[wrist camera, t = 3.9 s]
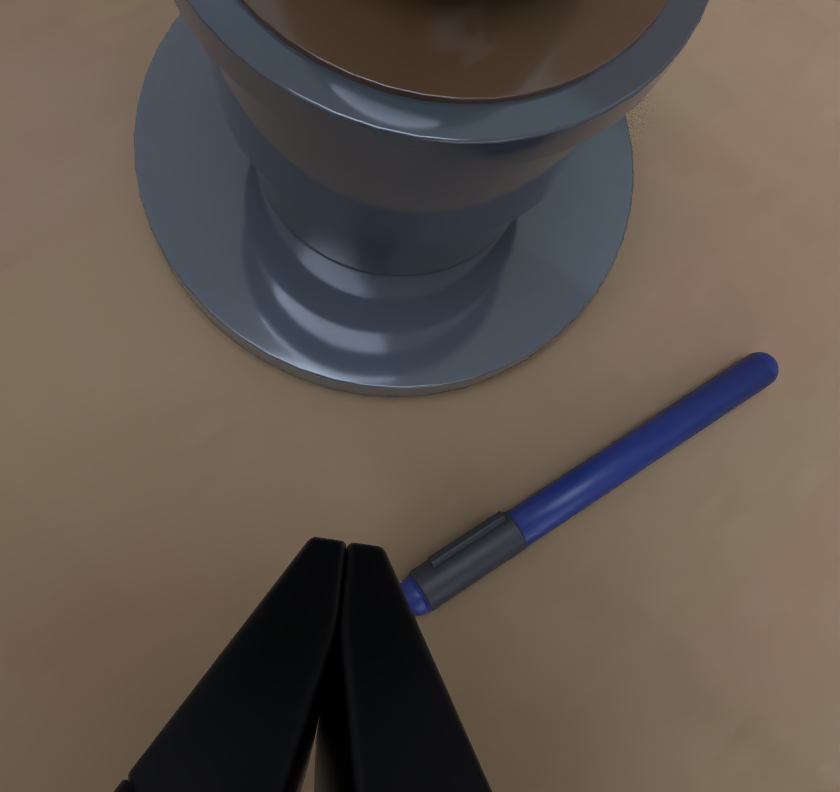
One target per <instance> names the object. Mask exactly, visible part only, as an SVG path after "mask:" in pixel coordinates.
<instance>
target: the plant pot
mask: <svg viewBox="0 0 840 792" xmlns="http://www.w3.org/2000/svg"><path fill="white" fill-rule="evenodd" d="M708 1H709V0H174V2H175V4H176V6H177V7H178V9H179V11H180V13H181V14H180V15H179V16H178V18H177V19H176V20H175V21H174V23H173V24H172V26H171V27H170V29H169V31H168V32H167V34H166V35H165V37H164V38H163V40H162V42H161V43H160V45H159V46H158V49H157V51H156V53H155V55H154V58H153V60H152V62H151V64H150V67H149V69H148V71H147V73H146V76H145V80H144V83H143V87H142V91H141V94H140V98H139V102H138V107H137V115H136V123H135V132H134V148H135V169H136V174H137V180H138V185H139V191H140V197H141V200H142V203H143V206H144V209H145V212H146V215H147V218H148V221H149V224H150V227H151V230H152V232H153V234H154V236H155V238H156V240H157V242H158V244H159V246H160V248H161V250H162V252H163V254H164V256H165V258H166V259H167V261H168V263H169V265H170V267H171V269H172V271H173V273H174V274H175V276H176V277H177V279H178V280H179V281H180V283H181V284H182V286H183V287H184V289H185V290H186V292H187V293H188V294H189V296H190V297H191V299H192V300H193V301H194V302H195V303H196V304H197V306H198V307H199V308H200V309H201V310H202V311H203V312H204V313H205V314H206V315H207V317H208V318H209V319H210V320H211V321H212V322H213V323H214V324H215V325H216V326H217V327H218V328H220V329H221V330H222V331H223V332H224V333H226V334H227V335H228V336H229V337H230V338H232V339H233V340H234V341H235V342H236V343H238V344H239V345H240V346H241V347H243V348H245V349H246V350H248V351H249V352H251V353H252V354H254V355H256V356H257V357H259V358H260V359H262V360H263V361H265V362H266V363H268V364H270V365H272V366H274V367H276V368H278V369H281V370H283V371H285V372H287V373H289V374H291V375H293V376H296V377H298V378H300V379H303V380H306V381H309V382H312V383H315V384H319V385H322V386H325V387H328V388H331V389H336V390H341V391H347V392H352V393H357V394H363V395H375V396H393V397H402V396H416V395H430V394H435V393H440V392H445V391H450V390H455V389H460V388H464V387H467V386H469V385H472V384H475V383H478V382H481V381H484V380H487V379H489V378H492V377H494V376H496V375H498V374H500V373H502V372H504V371H506V370H508V369H510V368H512V367H514V366H516V365H518V364H520V363H521V362H523V361H524V360H526V359H527V358H528V357H530V356H531V355H533V354H534V353H536V352H537V351H538V350H540V349H541V348H543V347H544V346H545V345H546V344H548V343H549V342H550V341H551V340H552V339H553V338H554V337H555V336H556V335H558V334H559V333H560V332H561V331H562V330H563V329H564V328H565V327H566V326H567V325H568V324H569V323H570V322H571V321H573V320H574V319H575V318H576V317H577V316H578V315H579V314H580V312H581V311H582V310H583V309H584V307H585V306H586V305H587V304H588V302H589V301H590V300H591V299H592V297H593V296H594V295H595V294H596V292H597V291H598V289H599V288H600V286H601V284H602V283H603V281H604V279H605V278H606V276H607V274H608V272H609V271H610V269H611V267H612V265H613V263H614V261H615V258H616V256H617V253H618V251H619V248H620V246H621V244H622V241H623V238H624V234H625V230H626V226H627V222H628V218H629V215H630V210H631V200H632V191H633V153H632V147H631V141H630V135H629V129H628V124H627V120H626V117H625V115H626V114H627V113H628V112H629V111H631V110H632V109H633V108H634V107H635V106H636V105H638V104H639V103H640V102H641V101H642V100H643V99H644V98H645V97H646V95H647V94H648V93H649V92H650V91H651V90H652V88H653V87H654V86H655V85H656V84H657V83H658V81H659V80H660V79H661V78H662V77H663V75H664V74H665V73H666V71H667V70H668V68H669V67H670V66H671V64H672V63H673V62H674V60H675V59H676V57H677V56H678V55H679V53H680V52H681V51H682V49H683V48H684V46H685V45H686V43H687V41H688V40H689V38H690V37H691V35H692V33H693V32H694V30H695V28H696V27H697V25H698V24H699V22H700V20H701V18H702V15H703V13H704V11H705V8H706V6H707V3H708Z"/></svg>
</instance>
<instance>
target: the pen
mask: <svg viewBox="0 0 840 792" xmlns="http://www.w3.org/2000/svg"><path fill="white" fill-rule="evenodd" d="M777 375H778V364H777V362H776V360H775V359H774V358H773V357H772V356H771V355H769V354H767V353H763V352H756V353H752V354H750V355H748V356H746V357H745V358H743V359H742V360H740V361H739V362H737V363H736V364H734V365H732V366H731V367H729V368H728V369H726V370H725V371H723V372H722V373H720V374H719V375H717V376H716V377H714V378H712V379H711V380H709V381H708V382H706V383H705V384H703V385H702V386H700V387H699V388H697V389H696V390H694V391H693V392H691V393H689V394H688V395H686V396H685V397H683V398H682V399H680V400H679V401H677V402H676V403H674V404H673V405H671V406H669V407H668V408H666V409H665V410H663V411H662V412H660V413H659V414H657V415H656V416H654V417H653V418H651V419H649V420H648V421H646V422H645V423H643V424H642V425H640V426H639V427H637V428H636V429H634V430H633V431H631V432H630V433H628V434H626V435H625V436H623V437H622V438H620V439H619V440H617V441H616V442H614V443H613V444H611V445H610V446H608V447H606V448H605V449H603V450H602V451H600V452H599V453H597V454H596V455H594V456H593V457H591V458H590V459H588V460H586V461H585V462H583V463H582V464H580V465H579V466H577V467H576V468H574V469H573V470H571V471H570V472H568V473H566V474H565V475H563V476H562V477H560V478H559V479H557V480H556V481H554V482H553V483H551V484H550V485H548V486H547V487H545V488H543V489H542V490H540V491H539V492H537V493H536V494H534V495H533V496H531V497H530V498H528V499H527V500H525V501H523V502H522V503H520V504H519V505H517V506H516V507H514V508H513V509H511V510H510V511H508V512H507V513H505V512H500V511H499V512H498V513H496V514H495V515H493V516H491V517H490V518H488V519H487V520H485V521H484V522H482V523H481V524H479V525H478V526H476V527H475V528H473V529H471V530H470V531H468V532H467V533H465V534H464V535H462V536H461V537H459V538H458V539H456V540H454V541H453V542H451V543H450V544H448V545H447V546H445V547H444V548H442V549H441V550H439V551H438V552H436V553H434V554H433V555H431V556H430V557H428V560H427V561H426V562H424V563H422V564H421V565H419V566H418V567H416V568H415V569H413V570H412V571H410V573H409V576H408V577H407V578H405V579H404V580H403V581H402V582H401V584H400V585H401V588H402V590H403V592H404V594H405V597H406V599H407V601H408V603H409V606H410V608H411V610H412V612H413V615H414V616H421V615H425V614H426V613H428V612H430V611H431V610H434V609H436V608H437V607H439V606H440V605H442V604H443V603H445V602H446V601H448V600H449V599H451V598H452V597H454V596H455V595H457V594H458V593H460V592H461V591H463V590H464V589H466V588H467V587H469V586H470V585H472V584H473V583H475V582H476V581H478V580H479V579H481V578H482V577H483V576H485V575H486V574H488V573H489V572H491V571H492V570H494V569H495V568H497V567H498V566H500V565H501V564H503V563H504V562H506V561H507V560H509V559H510V558H512V557H513V556H515V555H516V554H518V553H519V552H521V551H522V550H524V549H525V548H526V547H527V546H529V545H530V544H532V543H533V542H535V541H536V540H538V539H539V538H541V537H542V536H544V535H545V534H547V533H548V532H550V531H551V530H553V529H554V528H556V527H557V526H559V525H560V524H562V523H563V522H565V521H566V520H568V519H569V518H571V517H572V516H574V515H575V514H577V513H578V512H580V511H581V510H583V509H584V508H586V507H587V506H589V505H590V504H592V503H593V502H595V501H596V500H598V499H599V498H601V497H602V496H604V495H605V494H607V493H608V492H610V491H611V490H613V489H614V488H616V487H617V486H619V485H620V484H622V483H623V482H625V481H626V480H628V479H629V478H631V477H632V476H634V475H635V474H637V473H638V472H640V471H641V470H643V469H644V468H646V467H647V466H649V465H650V464H651V463H653V462H654V461H656V460H657V459H659V458H660V457H662V456H663V455H665V454H666V453H668V452H669V451H671V450H672V449H674V448H675V447H677V446H678V445H680V444H681V443H683V442H684V441H686V440H687V439H689V438H690V437H692V436H693V435H695V434H696V433H698V432H699V431H701V430H702V429H704V428H705V427H707V426H708V425H710V424H711V423H713V422H714V421H716V420H717V419H719V418H720V417H722V416H723V415H725V414H726V413H728V412H729V411H731V410H732V409H734V408H735V407H737V406H738V405H740V404H741V403H743V402H744V401H746V400H747V399H749V398H750V397H752V396H753V395H755V394H756V393H758V392H759V391H761V390H762V389H764V388H765V387H767V386H768V385H770V384H771V383H772V382H774V380H775V379H776V377H777Z"/></svg>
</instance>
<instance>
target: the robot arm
mask: <svg viewBox="0 0 840 792" xmlns="http://www.w3.org/2000/svg"><path fill="white" fill-rule="evenodd" d="M318 719H319V720H318ZM317 724H318V729H317ZM316 729H317V738H316V755H315V787H314V792H492V790H491V788H490V786H489V784H488V781H487V779H486V777H485V775H484V772H483V770H482V768H481V766H480V763H479V761H478V759H477V757H476V754H475V752H474V750H473V748H472V745H471V743H470V741H469V739H468V736H467V734H466V732H465V730H464V727H463V725H462V723H461V721H460V718H459V716H458V714H457V712H456V709H455V707H454V705H453V703H452V700H451V698H450V696H449V694H448V691H447V689H446V687H445V685H444V682H443V680H442V678H441V676H440V673H439V671H438V669H437V667H436V664H435V662H434V660H433V658H432V655H431V653H430V651H429V648H428V646H427V644H426V642H425V639H424V637H423V635H422V633H421V630H420V628H419V626H418V624H417V621H416V619H415V617H414V615H413V612H412V610H411V608H410V606H409V603H408V601H407V599H406V597H405V594H404V592H403V590H402V588H401V585H400V583H399V581H398V579H397V576H396V574H395V572H394V570H393V567H392V565H391V563H390V561H389V558H388V556H387V554H386V552H385V551H384V549H383V548H381V547H379V546H373V545H366V544H359V543H351V544H349V545H348V546H347V549H346V545H345V543H344V542H343V541H339V540H332V539H326V538H319V537H313V538H311V539H310V540H309V541H307V543H306V544H305V545H304V546H303V548H302V549H301V550H300V552H299V553H298V554H297V556H296V557H295V558H294V559H293V561H292V562H291V563H290V565H289V566H288V567H287V568H286V570H285V571H284V572H283V574H282V575H281V576H280V578H279V579H278V580H277V581H276V583H275V584H274V585H273V587H272V588H271V589H270V591H269V592H268V593H267V594H266V596H265V597H264V598H263V600H262V601H261V602H260V603H259V605H258V606H257V607H256V609H255V610H254V611H253V613H252V614H251V615H250V616H249V618H248V619H247V620H246V622H245V623H244V624H243V626H242V627H241V628H240V629H239V631H238V632H237V633H236V635H235V636H234V637H233V639H232V640H231V641H230V642H229V644H228V645H227V646H226V648H225V649H224V650H223V651H222V653H221V654H220V655H219V657H218V658H217V659H216V661H215V662H214V663H213V664H212V666H211V667H210V668H209V670H208V671H207V672H206V674H205V675H204V676H203V677H202V679H201V680H200V681H199V683H198V684H197V685H196V686H195V688H194V689H193V690H192V692H191V693H190V694H189V696H188V697H187V698H186V699H185V701H184V702H183V703H182V705H181V706H180V707H179V709H178V710H177V711H176V712H175V714H174V715H173V716H172V718H171V719H170V720H169V721H168V723H167V724H166V725H165V727H164V728H163V729H162V731H161V732H160V733H159V734H158V736H157V737H156V738H155V740H154V741H153V742H152V744H151V745H150V746H149V747H148V749H147V750H146V751H145V753H144V754H143V755H142V757H141V758H140V759H139V760H138V762H137V763H136V764H135V766H134V767H133V768H132V769H131V771H130V772H129V775H128V780H123V781H122V782H121V783H120V784H119V786H118V787H117V788H116V790H115V791H114V792H301V789H302V785H303V781H304V778H305V774H306V770H307V767H308V763H309V759H310V755H311V751H312V747H313V743H314V738H315V734H316Z"/></svg>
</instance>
